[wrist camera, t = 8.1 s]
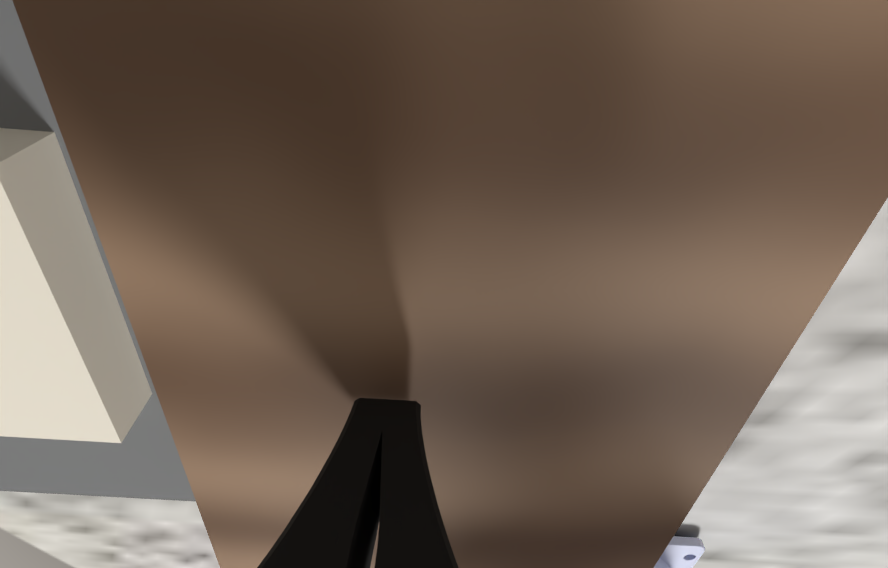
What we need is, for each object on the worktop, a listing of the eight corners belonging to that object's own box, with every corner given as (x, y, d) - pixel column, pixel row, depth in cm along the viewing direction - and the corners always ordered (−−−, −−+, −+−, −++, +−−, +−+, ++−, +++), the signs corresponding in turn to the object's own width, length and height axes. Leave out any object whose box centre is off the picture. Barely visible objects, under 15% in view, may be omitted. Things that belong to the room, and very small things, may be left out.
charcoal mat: (240, 494, 22) (237, 503, 21) (-5, 480, 21) (-13, 490, 21) (37, -250, 9) (21, -256, 8) (-590, -311, 8) (-632, -320, 8)
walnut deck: (596, 514, 22) (621, 618, 19) (265, 495, 22) (231, 599, 18) (900, -167, 9) (1143, -208, 6) (98, -244, 9) (-111, -335, 6)
